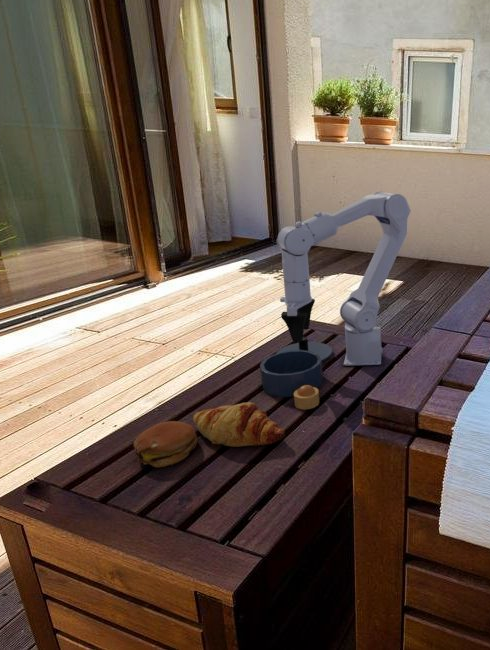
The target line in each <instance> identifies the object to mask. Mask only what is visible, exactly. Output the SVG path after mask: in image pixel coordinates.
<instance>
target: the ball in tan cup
mask: <svg viewBox="0 0 490 650" xmlns="http://www.w3.org/2000/svg"><path fill="white" fill-rule="evenodd" d="M319 392H320V391H319V389H318V388H315V387H312V386H310V385H303V386H301V387H300V388H299V389H297V390H296V391H295V392H294V396H293V400H294V406H295V408H296V409H298V410H303V411H305V410H306V411H307V410H311V409H314V408H316V407H318V406H319V404H320V393H319Z"/></svg>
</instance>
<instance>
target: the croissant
mask: <svg viewBox="0 0 490 650" xmlns="http://www.w3.org/2000/svg"><path fill="white" fill-rule="evenodd" d="M192 420H193V423H194V425H195V426H196V429H197V431H198V432H199V433H200V434H201V435H202V436H203V437H204V438H205V439H207V440H208V441H210V442H211V444H212V445H224V446H226V447H232V448H233V447H234V448H239V447H248V446H265V445H272V444H274V443H276V442H279V441H281V440H283V439H284V437H285V435H286V430H285V428H282V427H279V424H278V423H277V422H276V421H273V420H272V419H271V418H269V417H268V415H267V412H266V411H264V410H261V409H259V408H258V406H257V404H256V403H254V402H251V401H247V402H241V403H236V404H228V405H222V406H218V407H216V408H207V409H204V410H201V411H196V412H195V413H194V415H193V417H192Z"/></svg>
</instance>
